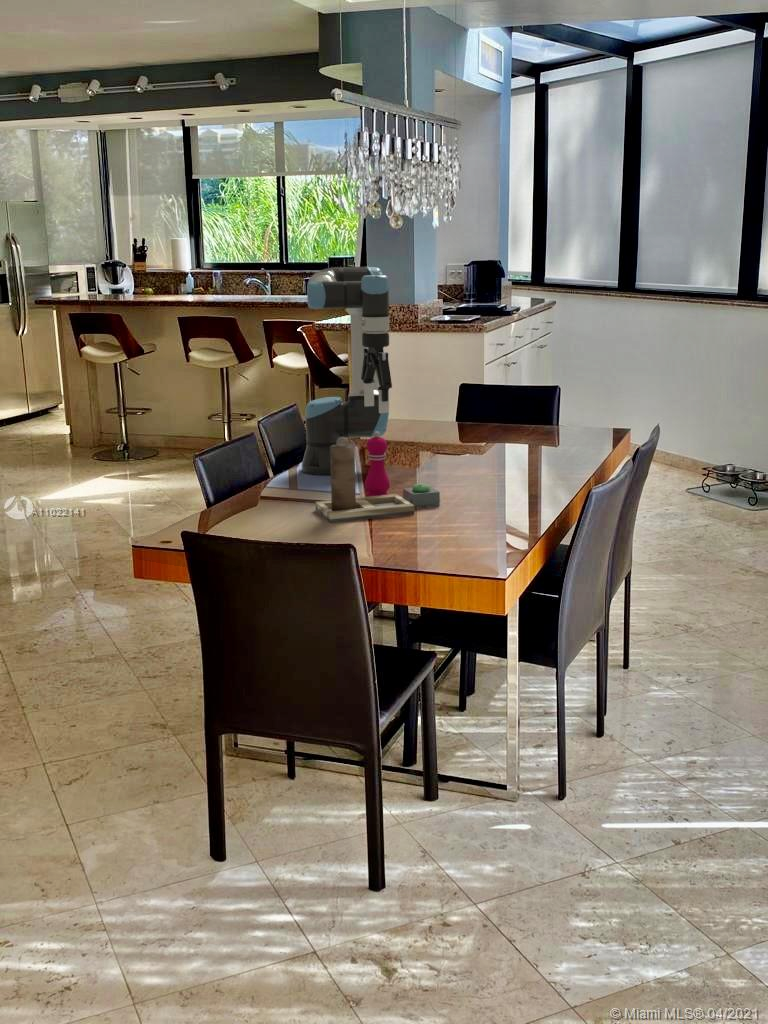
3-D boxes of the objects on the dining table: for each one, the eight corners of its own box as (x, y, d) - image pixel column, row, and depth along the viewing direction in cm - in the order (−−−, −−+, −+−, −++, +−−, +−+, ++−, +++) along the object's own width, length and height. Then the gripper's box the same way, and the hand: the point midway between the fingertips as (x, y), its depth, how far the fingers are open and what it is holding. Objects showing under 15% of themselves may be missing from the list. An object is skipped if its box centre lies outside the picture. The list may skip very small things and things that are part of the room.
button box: (403, 501, 304) (403, 488, 303) (429, 499, 307) (429, 485, 306) (413, 508, 297) (413, 494, 296) (439, 505, 300) (439, 491, 299)
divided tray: (315, 510, 296) (315, 501, 295) (396, 502, 304) (396, 493, 303) (330, 522, 283) (330, 513, 283) (414, 514, 291) (414, 505, 290)
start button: (410, 498, 303) (410, 484, 302) (425, 496, 305) (425, 483, 304) (416, 502, 299) (416, 488, 298) (432, 500, 300) (432, 486, 299)
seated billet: (328, 509, 293) (326, 435, 288) (351, 506, 295) (350, 434, 290) (335, 514, 287) (334, 440, 282) (358, 512, 289) (357, 438, 284)
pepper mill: (375, 495, 312) (375, 428, 307) (395, 499, 307) (394, 431, 302) (359, 500, 307) (358, 432, 301) (379, 504, 302) (378, 434, 297)
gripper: (349, 329, 304) (350, 403, 310) (377, 336, 282) (378, 417, 288) (374, 327, 307) (375, 402, 312) (403, 335, 285) (403, 415, 290)
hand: (376, 409), depth 300 cm, fingers open, 12 cm apart
